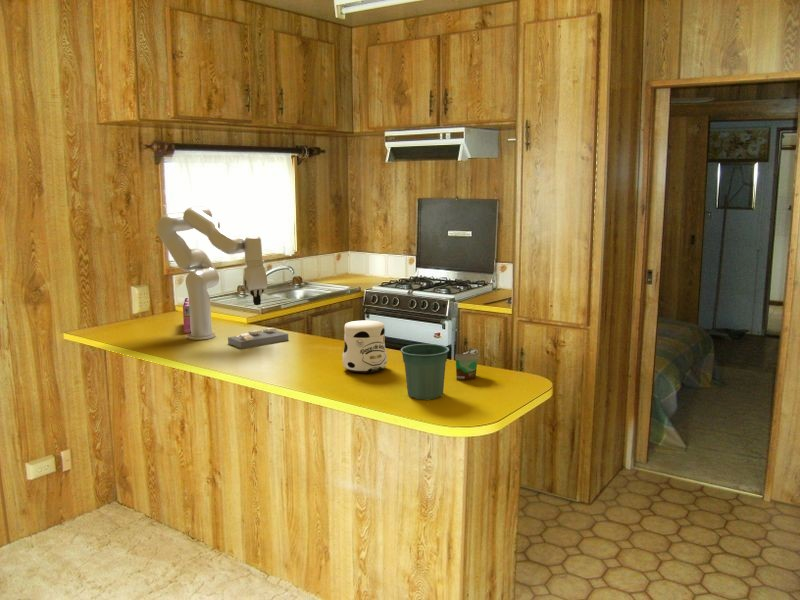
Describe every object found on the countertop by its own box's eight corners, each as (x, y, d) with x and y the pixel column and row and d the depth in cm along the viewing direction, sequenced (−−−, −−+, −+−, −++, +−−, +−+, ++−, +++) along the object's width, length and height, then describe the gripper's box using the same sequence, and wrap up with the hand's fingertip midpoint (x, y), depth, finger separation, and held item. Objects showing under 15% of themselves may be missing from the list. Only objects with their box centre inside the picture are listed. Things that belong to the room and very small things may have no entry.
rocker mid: (248, 334, 325) (248, 331, 325) (255, 333, 327) (255, 329, 327) (254, 334, 320) (254, 330, 320) (261, 333, 323) (261, 329, 323)
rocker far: (263, 332, 330) (262, 328, 330) (270, 331, 332) (269, 327, 332) (269, 332, 325) (269, 328, 325) (276, 330, 328) (275, 327, 327)
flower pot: (391, 397, 241) (391, 351, 238) (416, 385, 255) (416, 341, 252) (434, 405, 232) (434, 357, 230) (457, 392, 246) (457, 346, 243)
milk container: (377, 377, 264) (376, 330, 261) (335, 373, 270) (334, 327, 267) (393, 366, 280) (393, 321, 277) (353, 362, 286) (352, 318, 283)
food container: (469, 383, 256) (470, 356, 254) (454, 381, 259) (454, 354, 258) (484, 375, 266) (484, 349, 265) (469, 373, 270) (470, 347, 268)
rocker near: (239, 336, 316) (239, 333, 315) (246, 335, 318) (247, 332, 318) (246, 341, 312) (246, 338, 311) (253, 340, 314) (253, 336, 313)
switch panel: (228, 343, 319) (227, 336, 319) (275, 335, 334) (274, 329, 334) (240, 348, 310) (240, 341, 310) (288, 340, 325) (288, 333, 325)
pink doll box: (186, 323, 365) (185, 297, 362) (202, 322, 367) (201, 296, 364) (183, 333, 342) (182, 305, 339) (201, 332, 344) (199, 304, 341)
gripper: (264, 262, 325) (267, 301, 328) (235, 265, 315) (238, 306, 318) (273, 262, 319) (276, 303, 322) (243, 266, 310) (246, 308, 313)
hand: (257, 304), depth 320 cm, fingers closed
